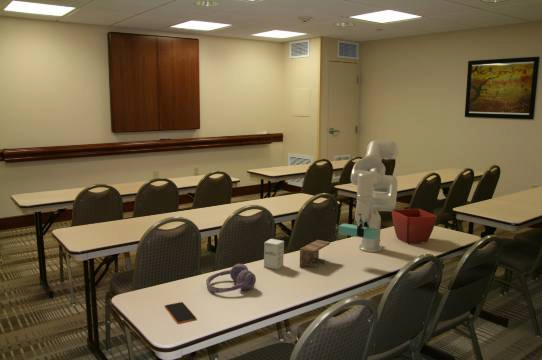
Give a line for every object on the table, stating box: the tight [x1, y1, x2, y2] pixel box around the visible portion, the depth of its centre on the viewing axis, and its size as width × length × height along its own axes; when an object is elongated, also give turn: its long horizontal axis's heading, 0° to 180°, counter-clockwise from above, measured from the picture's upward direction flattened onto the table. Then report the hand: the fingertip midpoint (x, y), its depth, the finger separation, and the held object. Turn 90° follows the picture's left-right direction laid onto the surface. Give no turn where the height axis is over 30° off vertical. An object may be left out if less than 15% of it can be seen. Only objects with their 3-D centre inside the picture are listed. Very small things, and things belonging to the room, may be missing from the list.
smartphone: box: [163, 301, 198, 325], centre depth 173 cm, size 8×17×1 cm, turn 29°
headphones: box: [206, 263, 257, 294], centre depth 198 cm, size 18×8×20 cm
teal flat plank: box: [338, 223, 378, 240], centre depth 227 cm, size 6×18×4 cm, turn 57°
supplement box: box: [263, 238, 285, 270], centre depth 224 cm, size 7×7×13 cm
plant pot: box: [391, 208, 438, 245], centre depth 271 cm, size 19×19×17 cm
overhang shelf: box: [299, 239, 331, 269], centre depth 229 cm, size 18×7×10 cm, turn 147°
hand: (362, 234), depth 226 cm, fingers closed on teal flat plank, 6 cm apart
